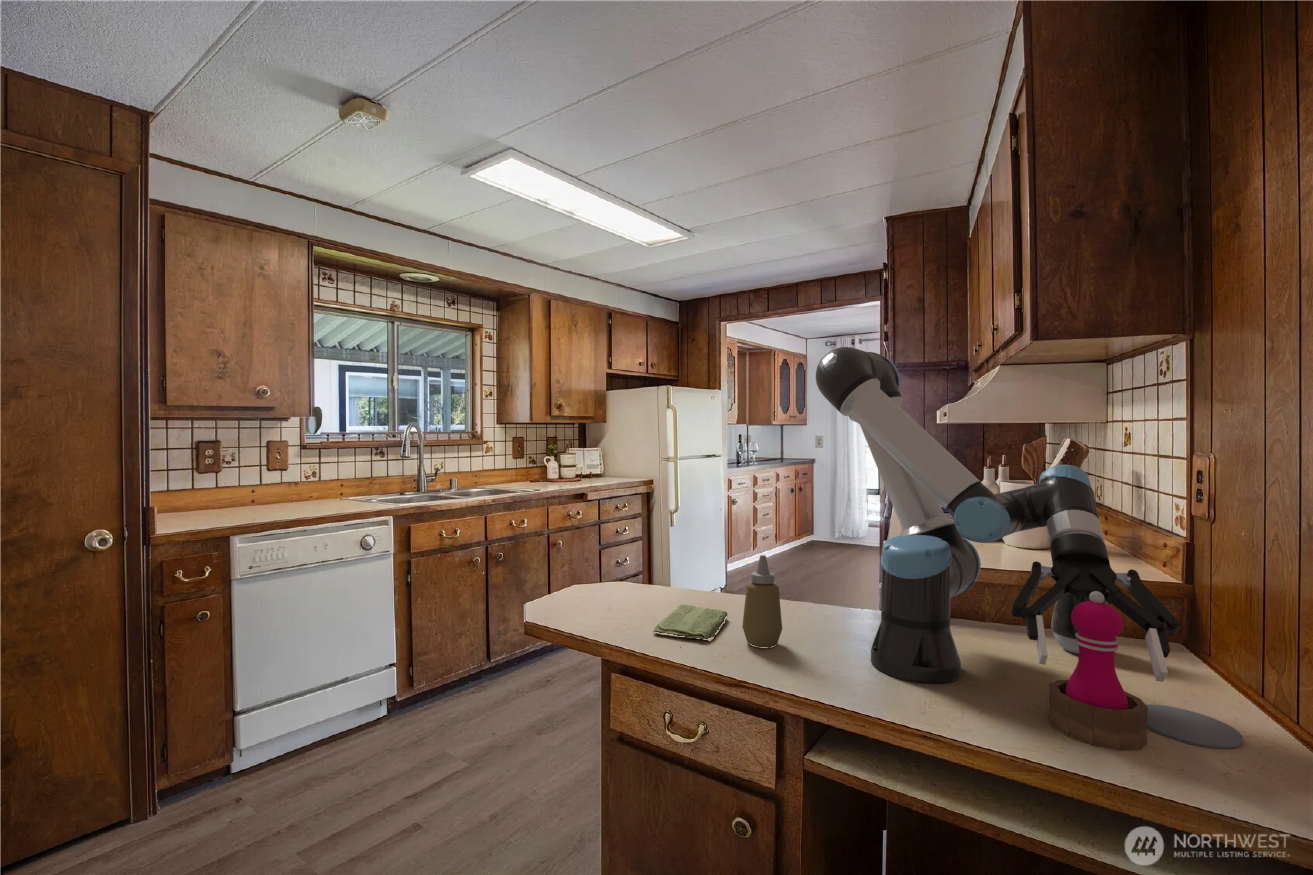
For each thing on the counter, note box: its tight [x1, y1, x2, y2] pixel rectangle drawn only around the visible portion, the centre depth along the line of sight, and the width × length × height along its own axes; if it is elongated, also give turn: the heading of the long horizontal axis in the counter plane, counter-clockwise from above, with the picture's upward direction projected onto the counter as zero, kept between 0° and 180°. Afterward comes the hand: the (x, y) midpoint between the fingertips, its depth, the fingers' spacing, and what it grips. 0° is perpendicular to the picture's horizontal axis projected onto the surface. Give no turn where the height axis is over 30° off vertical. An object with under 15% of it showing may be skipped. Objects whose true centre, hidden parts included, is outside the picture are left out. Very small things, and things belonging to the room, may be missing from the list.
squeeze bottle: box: [742, 554, 783, 647], centre depth 118 cm, size 8×8×18 cm
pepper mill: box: [1066, 591, 1128, 710], centre depth 84 cm, size 7×7×20 cm
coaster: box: [1145, 704, 1244, 750], centre depth 85 cm, size 12×12×1 cm
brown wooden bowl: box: [1048, 679, 1148, 751], centre depth 84 cm, size 11×11×5 cm
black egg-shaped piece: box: [1050, 593, 1109, 655], centre depth 116 cm, size 10×10×15 cm
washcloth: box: [653, 603, 729, 639], centre depth 129 cm, size 13×18×3 cm
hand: (1100, 668), depth 82 cm, fingers open, 13 cm apart
